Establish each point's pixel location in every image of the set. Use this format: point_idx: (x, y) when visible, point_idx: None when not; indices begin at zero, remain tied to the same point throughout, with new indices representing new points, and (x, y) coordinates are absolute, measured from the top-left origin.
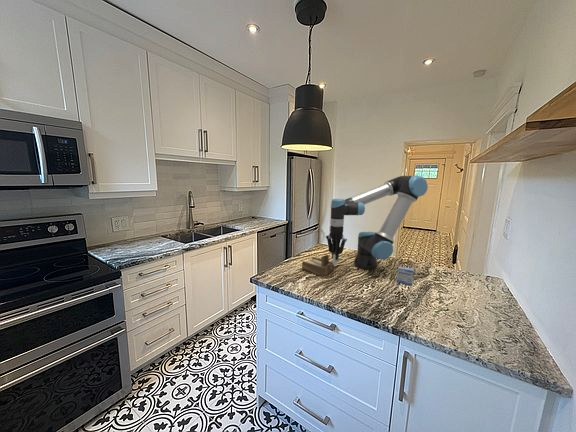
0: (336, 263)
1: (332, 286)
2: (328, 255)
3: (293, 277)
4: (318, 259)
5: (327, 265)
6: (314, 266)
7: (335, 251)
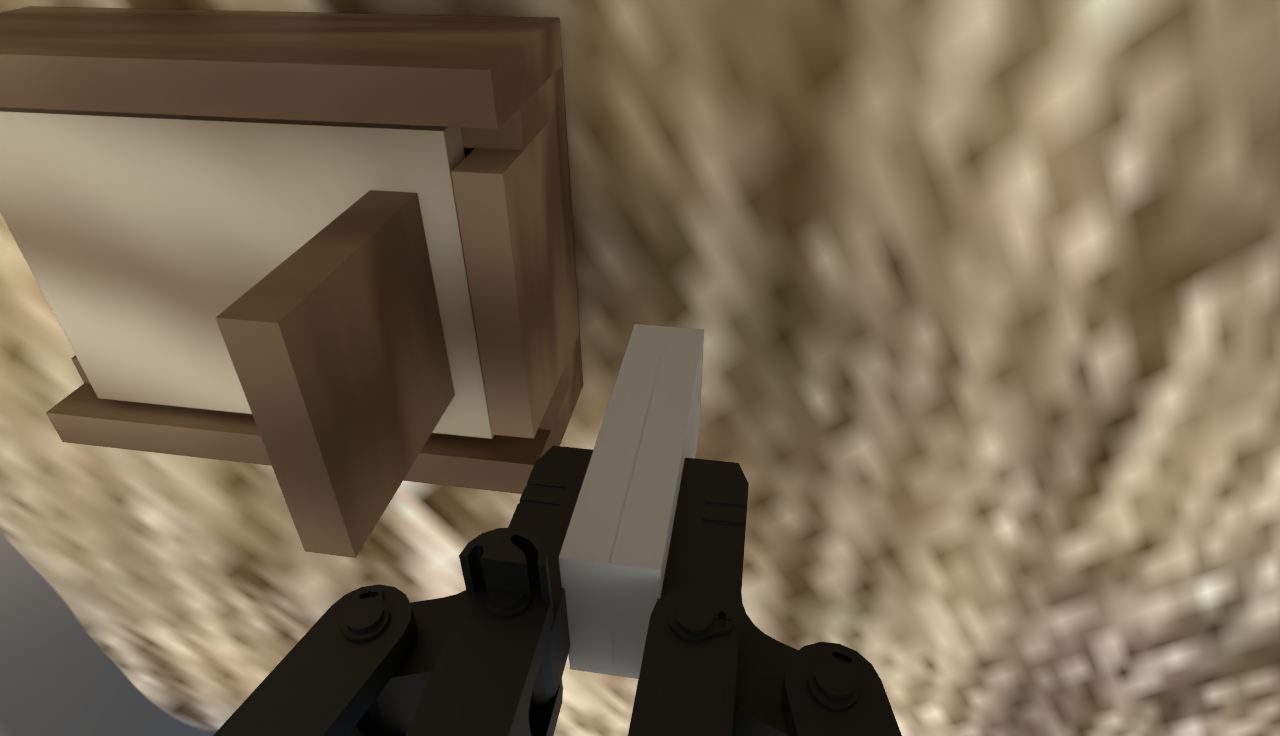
0: (699, 377)
1: (856, 545)
2: (290, 331)
3: (335, 571)
4: (47, 108)
5: (491, 335)
6: None
7: (543, 631)
